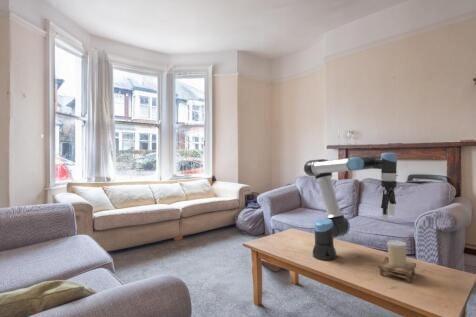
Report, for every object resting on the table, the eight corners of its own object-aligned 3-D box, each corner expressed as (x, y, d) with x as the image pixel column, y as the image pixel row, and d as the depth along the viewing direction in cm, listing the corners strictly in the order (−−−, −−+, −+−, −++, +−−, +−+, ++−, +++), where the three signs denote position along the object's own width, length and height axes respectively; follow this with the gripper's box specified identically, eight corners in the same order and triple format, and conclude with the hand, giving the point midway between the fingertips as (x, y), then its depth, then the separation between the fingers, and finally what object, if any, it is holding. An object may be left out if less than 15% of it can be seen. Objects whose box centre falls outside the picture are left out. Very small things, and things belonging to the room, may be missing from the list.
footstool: (378, 275, 146) (378, 265, 145) (385, 265, 157) (385, 256, 157) (410, 283, 136) (410, 273, 135) (416, 273, 147) (415, 263, 146)
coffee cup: (403, 261, 150) (402, 240, 149) (410, 268, 140) (409, 246, 140) (385, 260, 151) (384, 239, 151) (391, 267, 142) (390, 245, 142)
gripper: (390, 183, 137) (390, 223, 139) (401, 178, 156) (401, 213, 157) (374, 182, 143) (374, 221, 144) (387, 177, 161) (387, 212, 162)
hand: (388, 217), depth 150 cm, fingers open, 13 cm apart
